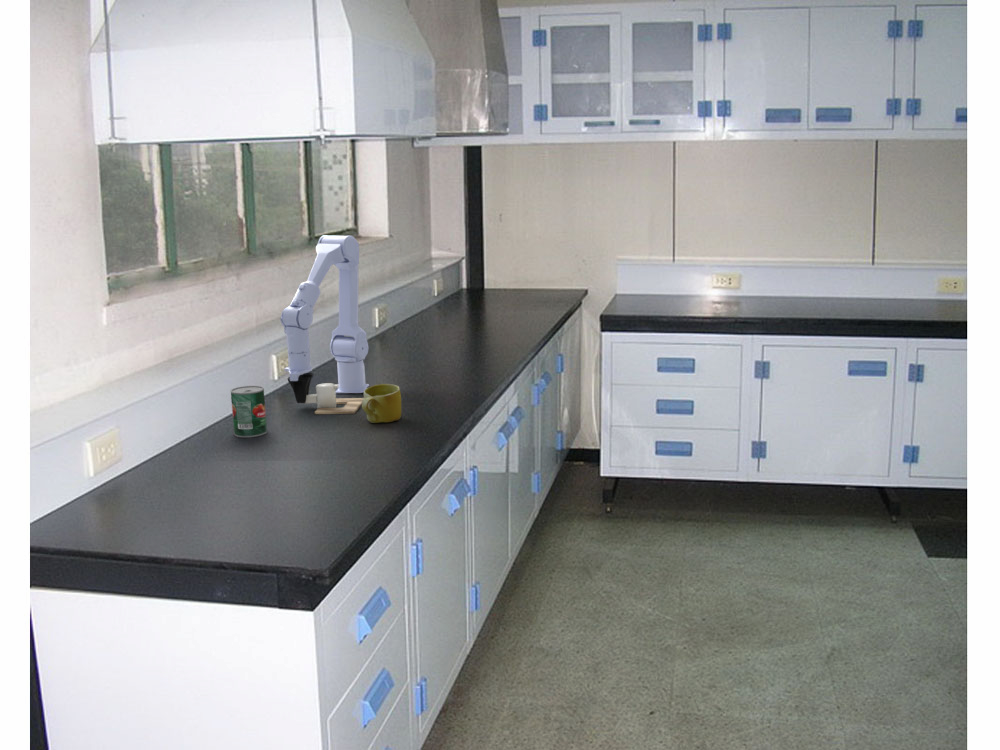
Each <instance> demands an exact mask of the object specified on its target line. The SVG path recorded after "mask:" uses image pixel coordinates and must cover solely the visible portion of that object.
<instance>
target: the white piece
mask: <svg viewBox="0 0 1000 750" xmlns="http://www.w3.org/2000/svg"><path fill="white" fill-rule="evenodd" d="M338 388H339V384H338V383H337V384H335V383H331V382H328V383H326V382H325V383H319V384H317V385H315V391H316V393H313V394H308V395H306V402H305V403H304V404H316V405H317V406H316V407H317V409H318V408H338V407H337V404H336V398H337V397H336V396H337V395H336V394H337V393H336V390H337V389H338Z"/></svg>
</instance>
